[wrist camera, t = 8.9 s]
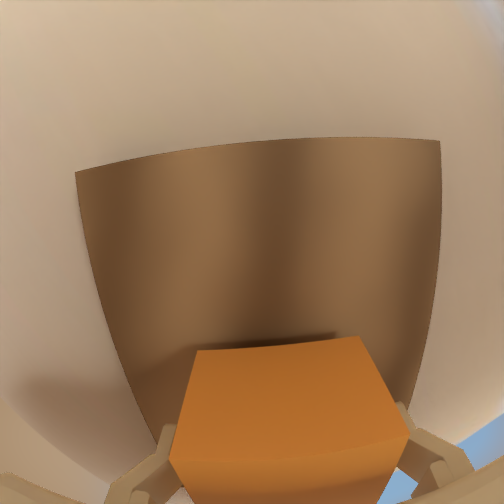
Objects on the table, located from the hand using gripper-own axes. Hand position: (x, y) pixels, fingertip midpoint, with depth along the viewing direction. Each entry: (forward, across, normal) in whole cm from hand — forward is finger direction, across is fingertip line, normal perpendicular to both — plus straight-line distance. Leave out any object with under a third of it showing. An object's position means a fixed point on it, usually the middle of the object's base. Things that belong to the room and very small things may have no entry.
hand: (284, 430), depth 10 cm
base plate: (+5, 0, 0) cm, 5 cm away
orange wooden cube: (+2, 0, 0) cm, 2 cm away
